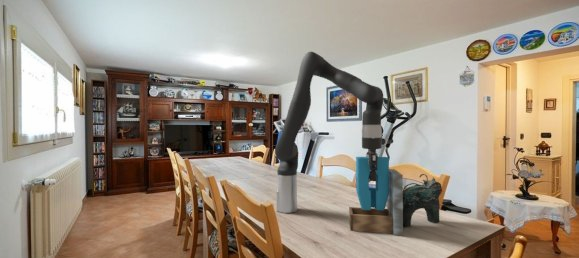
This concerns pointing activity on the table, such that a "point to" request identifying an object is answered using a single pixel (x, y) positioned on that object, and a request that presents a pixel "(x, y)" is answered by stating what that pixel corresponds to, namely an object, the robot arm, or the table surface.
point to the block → (380, 193)
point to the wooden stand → (382, 211)
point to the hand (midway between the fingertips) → (372, 179)
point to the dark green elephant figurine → (421, 200)
